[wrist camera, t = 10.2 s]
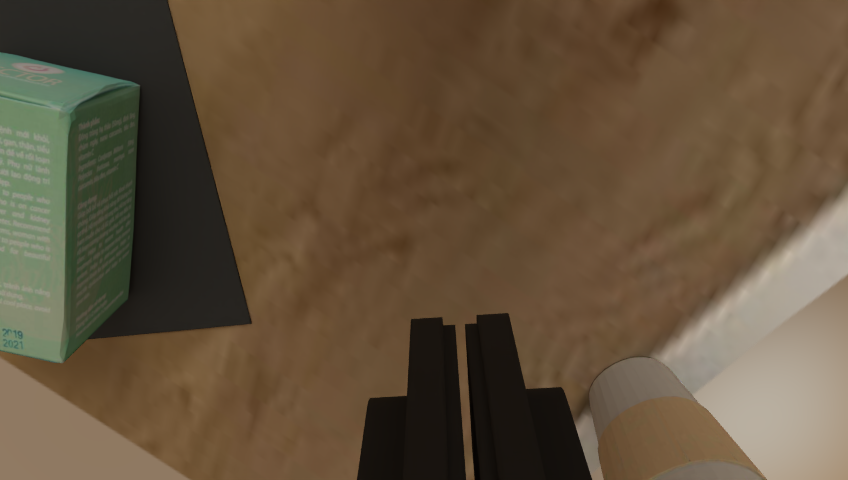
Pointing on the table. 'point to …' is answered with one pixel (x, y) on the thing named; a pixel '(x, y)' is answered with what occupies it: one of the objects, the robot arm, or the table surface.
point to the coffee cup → (659, 428)
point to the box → (63, 204)
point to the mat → (147, 158)
